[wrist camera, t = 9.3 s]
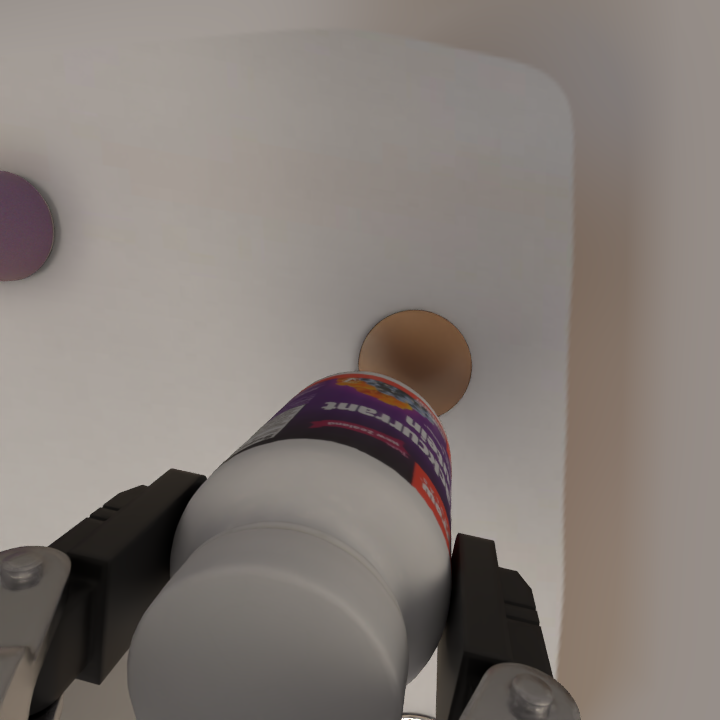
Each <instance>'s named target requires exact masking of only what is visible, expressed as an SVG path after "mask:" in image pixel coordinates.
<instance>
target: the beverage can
mask: <svg viewBox="0 0 720 720" xmlns="http://www.w3.org/2000/svg"><path fill="white" fill-rule="evenodd" d="M54 233H55V231H54V222H53V218H52V214H51V212H50V209H49V207H48V205H47V203H46V202H45V200H44V199H43V197H42V196H41V195H40V193H39V192H38V191H37V190H36V189H35V188H34V187H33V186H32V185H31V184H30V183H29V182H28V181H26V180H25V179H23V178H22V177H20V176H18V175H15V174H13V173H10V172H6V171H0V281H13V280H20V279H23V278H26V277H28V276H30V275H32V274H33V273H35V272H36V271H37V270H38V269H39V268H40V267H41V266H42V265H43V263H44V262H45V261H46V259H47V258H48V256H49V254H50V252H51V250H52V247H53V243H54Z"/></svg>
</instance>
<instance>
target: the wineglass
mask: <svg viewBox="0 0 720 720" xmlns="http://www.w3.org/2000/svg"><path fill="white" fill-rule="evenodd" d="M402 720H433V719H430V718H426V717H423V716H416V715H402Z"/></svg>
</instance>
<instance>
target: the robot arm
mask: <svg viewBox="0 0 720 720" xmlns="http://www.w3.org/2000/svg"><path fill="white" fill-rule="evenodd" d="M206 480H207V478H206V476H204V475H200V474H195V473H191V472H186V471H182V470H177V469H170V470H168V471H167V472H166V473H165V474H163V475H162V476H161V477H160V478H158V479H157V480H156V481H155V482H153V483H152V484H151V485H150V486H144V485H140V486H138V487H135V488H132V489H129V490H127V491H124V492H121V493H119V494H117V495H116V496H115V497H113V498H112V499H111V500H109V501H108V502H107V503H105V504H104V505H103V508H101V507H100V508H99V509H97V510H96V511H95V512H93V513H92V514H91V515H90V517H89V518H85V519H84V520H83V521H81V522H80V523H79V524H77V525H76V526H75V527H73V528H72V529H71V530H69V531H68V532H67V533H65V534H64V535H63V536H61V537H60V538H59V539H57V540H56V541H55V542H53V543H52V544H51V545H49V546H48V547H44V546H25V547H18V548H13V549H9V550H5V551H2V552H0V720H60V717H61V714H62V710H63V705H64V691H65V690H66V689H67V688H68V687H69V686H70V684H71V683H72V682H73V681H74V680H75V679H78V680H82V681H86V682H89V683H93V684H97V685H100V684H101V683H102V682H103V681H104V679H105V678H106V677H107V675H108V674H109V673H110V672H111V670H112V669H113V668H114V667H115V665H116V664H117V663H118V662H119V660H120V659H121V658H122V657H123V655H124V654H125V653H126V652H127V650H128V649H129V648H130V645H131V641H132V637H133V635H134V632H135V630H136V628H137V626H138V624H139V622H140V620H141V618H142V616H143V614H144V613H145V611H146V610H147V609H148V607H149V606H150V605H151V603H152V602H153V601H154V600H155V598H156V597H157V596H158V594H159V593H160V592H161V590H162V589H163V588H164V586H165V585H166V584H167V583H168V581H169V580H170V555H171V549H172V544H173V539H174V535H175V531H176V528H177V526H178V523H179V521H180V518H181V516H182V514H183V512H184V510H185V508H186V506H187V505H188V503H189V501H190V500H191V498H192V497H193V495H194V494H195V493H196V491H197V490H198V489H199V487H200V486H201V485H202V484H203V483H204V482H205V481H206ZM451 564H452V591H451V600H450V608H449V613H448V617H447V621H446V625H445V628H444V631H443V634H442V637H441V639H440V642H439V644H438V652H437V692H436V720H581V719H580V712H579V709H578V707H577V704H576V703H575V701H574V699H573V698H572V697H571V695H570V693H568V691H567V690H566V689H565V688H564V687H563V686H562V685H561V684H560V683H559V682H557V681H556V680H555V679H553V675H552V671H551V667H550V663H549V659H548V655H547V651H546V646H545V642H544V638H543V634H542V630H541V626H539V623H540V622H539V618H538V614H537V611H536V606H535V602H534V598H533V594H532V589H531V588H530V587H529V586H528V584H527V583H526V582H525V581H524V579H523V578H522V577H521V576H520V574H519V573H518V572H517V571H514V570H509V569H505V568H501V567H498V561H497V555H496V549H495V543H494V541H493V540H488V539H484V538H479V537H475V536H470V535H466V534H462V533H458V534H457V537H456V540H455V544H454V549H453V553H452V558H451Z"/></svg>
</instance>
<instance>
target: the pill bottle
mask: <svg viewBox="0 0 720 720" xmlns="http://www.w3.org/2000/svg"><path fill="white" fill-rule="evenodd" d="M451 477H452V467H451V454H450V447H449V443H448V439H447V435H446V433H445V430H444V428H443V426H442V423H441V421H440V420H439V418H438V416H437V415H436V413H435V412H434V410H433V409H432V408H431V406H430V405H429V404H428V403H427V402H426V401H425V400H424V399H423V398H422V397H421V396H420V395H419V394H418V393H417V392H415V391H414V390H413V389H411V388H410V387H408V386H407V385H405V384H403V383H401V382H399V381H397V380H395V379H393V378H390V377H388V376H385V375H382V374H378V373H373V372H364V371H350V372H343V373H337V374H333V375H330V376H327V377H325V378H322V379H320V380H318V381H316V382H314V383H312V384H311V385H309V386H308V387H306V388H305V389H304V390H302V391H301V392H300V393H298V394H297V395H296V396H295V397H293V398H292V399H291V400H290V401H289V402H288V403H287V404H286V405H285V406H284V407H283V408H282V409H281V410H280V411H278V412H277V413H276V414H275V415H274V416H273V417H272V418H271V419H270V420H269V421H268V422H267V423H266V424H265V425H264V426H262V427H261V428H260V429H259V430H258V431H257V432H256V433H255V434H254V435H253V436H252V437H251V438H250V439H249V440H248V441H247V442H245V443H244V444H243V445H242V446H241V447H240V448H239V449H238V450H237V451H235V452H234V453H233V454H232V455H231V456H230V457H229V458H228V459H227V460H226V461H224V462H223V463H222V464H221V465H220V466H219V467H218V468H217V469H216V470H215V471H214V472H213V474H212V475H211V476H210V477H209V478H208V479H207V480H206V481H205V482H204V483H203V484H202V485H201V486H200V487H199V489H198V490H197V491H196V493H195V494H194V495H193V497H192V498H191V500H190V501H189V503H188V505H187V506H186V508H185V510H184V512H183V514H182V516H181V518H180V521H179V523H178V526H177V528H176V531H175V535H174V539H173V544H172V549H171V555H170V580H169V581H168V583H167V584H166V585H165V586H164V588H163V589H162V590H161V592H160V593H159V594H158V596H157V597H156V598H155V600H154V601H153V602H152V603H151V605H150V606H149V607H148V609H147V610H146V611H145V613H144V614H143V616H142V618H141V620H140V622H139V624H138V626H137V628H136V630H135V632H134V635H133V637H132V641H131V645H130V649H129V653H128V660H127V685H128V691H129V695H130V699H131V703H132V706H133V710H134V714H135V717H136V719H137V720H402V713H403V704H404V696H405V689H406V685H408V684H409V683H410V682H411V681H412V680H413V679H414V678H415V677H416V676H417V675H418V674H419V673H420V671H421V670H422V669H423V668H424V666H425V665H426V664H427V662H428V661H429V660H430V658H431V656H432V655H433V653H434V651H435V649H436V648H437V646H438V644H439V642H440V639H441V637H442V634H443V631H444V628H445V625H446V621H447V617H448V613H449V608H450V600H451V591H452V564H451Z"/></svg>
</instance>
